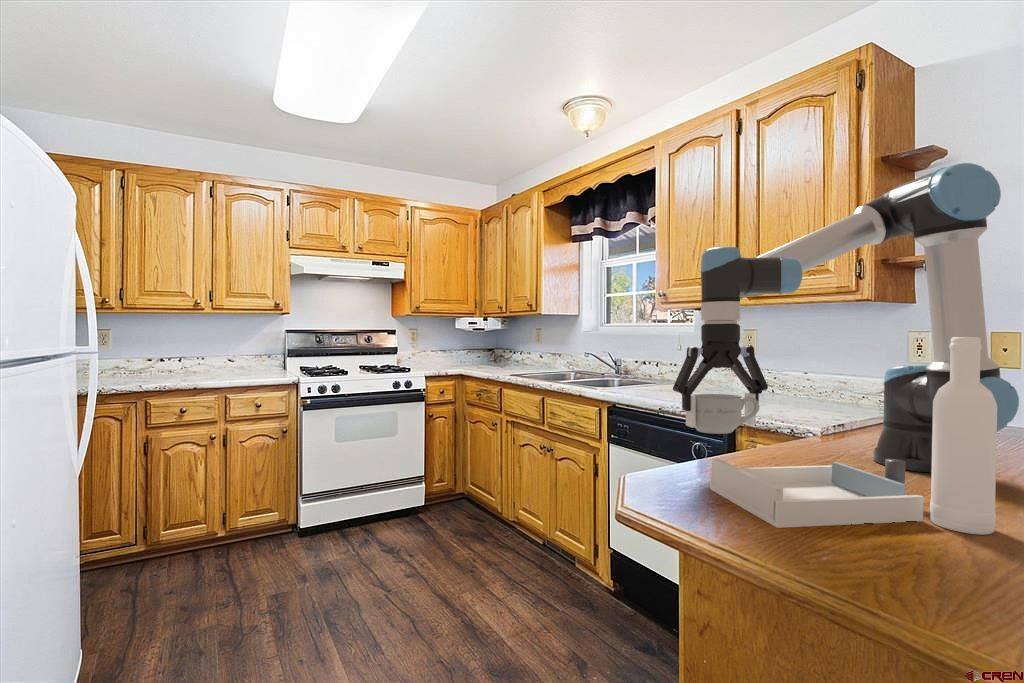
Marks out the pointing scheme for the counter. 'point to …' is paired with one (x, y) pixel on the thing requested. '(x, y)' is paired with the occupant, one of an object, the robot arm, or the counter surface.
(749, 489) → the tray
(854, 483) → the blue-grey panel and knob
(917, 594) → the counter surface
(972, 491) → the bottle
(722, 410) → the teacup
